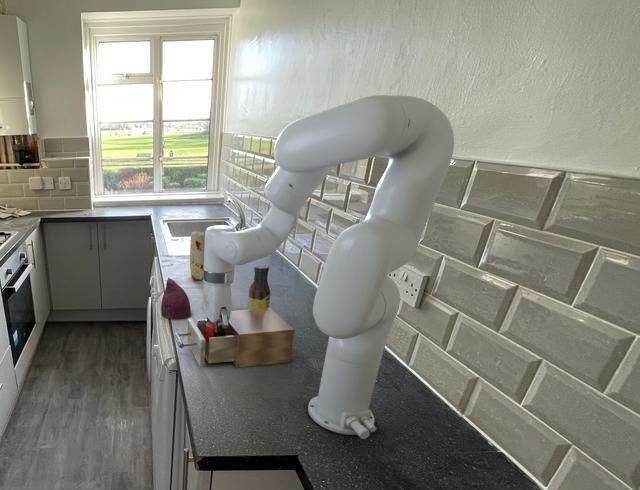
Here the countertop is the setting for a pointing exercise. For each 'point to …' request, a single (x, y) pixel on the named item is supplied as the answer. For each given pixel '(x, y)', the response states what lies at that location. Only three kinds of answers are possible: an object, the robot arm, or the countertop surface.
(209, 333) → the red cylinder
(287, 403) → the countertop surface
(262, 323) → the cabinet
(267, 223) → the robot arm
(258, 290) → the sauce bottle
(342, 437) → the countertop surface
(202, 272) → the food model
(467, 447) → the countertop surface
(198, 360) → the drawer
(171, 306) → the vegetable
